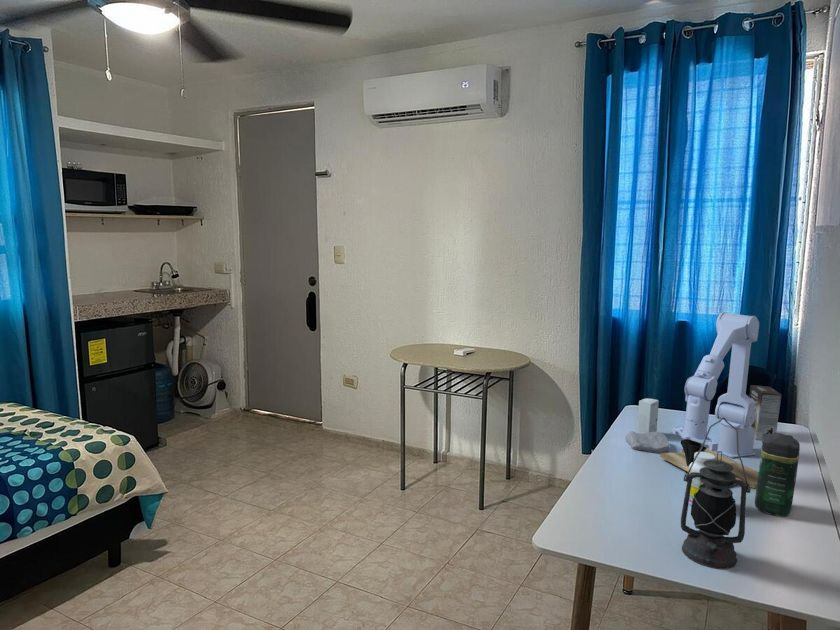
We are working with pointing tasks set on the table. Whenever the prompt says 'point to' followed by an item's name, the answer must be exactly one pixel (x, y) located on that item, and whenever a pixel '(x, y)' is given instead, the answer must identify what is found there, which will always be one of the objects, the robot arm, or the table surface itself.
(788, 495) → the coffee jar
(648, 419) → the skincare box
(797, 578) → the table surface
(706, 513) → the lantern
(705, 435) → the robot arm
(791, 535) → the table surface
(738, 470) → the laid floor row
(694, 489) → the supplement bottle
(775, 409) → the coffee box
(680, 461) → the board
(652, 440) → the stone block
